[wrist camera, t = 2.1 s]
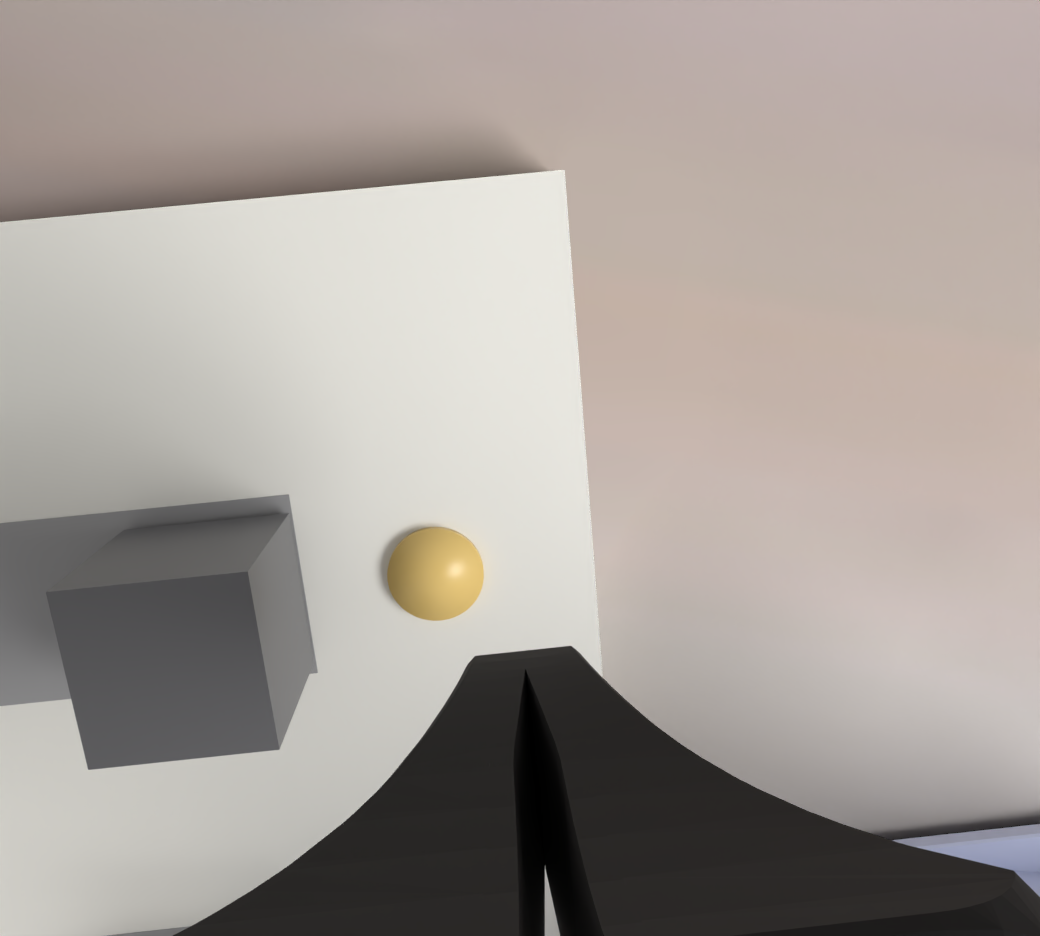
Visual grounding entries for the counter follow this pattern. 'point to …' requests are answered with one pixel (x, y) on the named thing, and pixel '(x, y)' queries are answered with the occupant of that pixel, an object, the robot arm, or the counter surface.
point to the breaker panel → (282, 502)
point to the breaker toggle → (184, 641)
